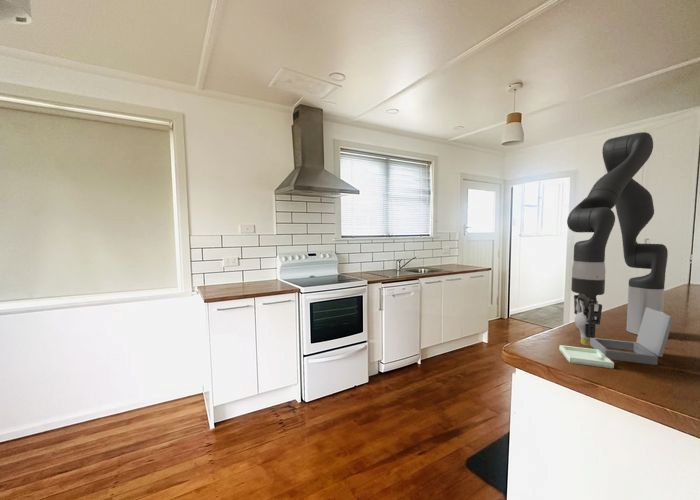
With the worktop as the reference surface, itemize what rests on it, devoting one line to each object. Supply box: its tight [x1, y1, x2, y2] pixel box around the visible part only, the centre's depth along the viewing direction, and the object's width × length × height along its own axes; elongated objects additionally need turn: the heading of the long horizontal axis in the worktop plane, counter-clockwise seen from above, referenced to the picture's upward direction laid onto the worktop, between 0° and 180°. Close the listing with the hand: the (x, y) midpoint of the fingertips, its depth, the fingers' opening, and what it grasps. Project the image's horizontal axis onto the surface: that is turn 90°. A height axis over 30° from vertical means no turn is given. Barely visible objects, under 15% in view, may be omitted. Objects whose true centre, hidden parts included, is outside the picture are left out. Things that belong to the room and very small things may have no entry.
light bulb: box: [574, 312, 599, 346], centre depth 85 cm, size 5×6×10 cm
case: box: [589, 337, 659, 366], centre depth 89 cm, size 12×12×2 cm
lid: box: [635, 307, 675, 358], centre depth 86 cm, size 12×12×1 cm
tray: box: [558, 344, 615, 369], centre depth 86 cm, size 10×10×2 cm
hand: (585, 333), depth 85 cm, fingers closed on light bulb, 5 cm apart
